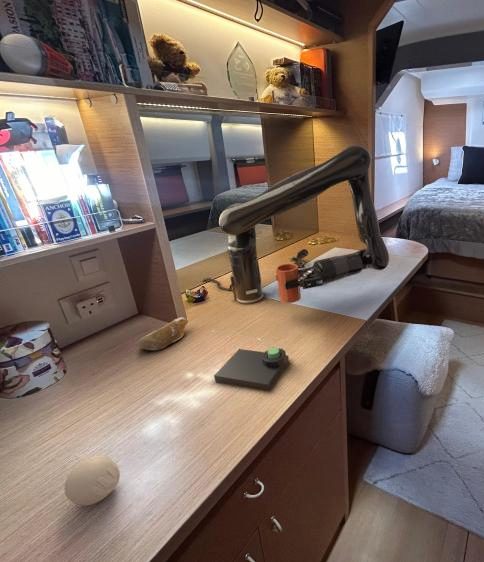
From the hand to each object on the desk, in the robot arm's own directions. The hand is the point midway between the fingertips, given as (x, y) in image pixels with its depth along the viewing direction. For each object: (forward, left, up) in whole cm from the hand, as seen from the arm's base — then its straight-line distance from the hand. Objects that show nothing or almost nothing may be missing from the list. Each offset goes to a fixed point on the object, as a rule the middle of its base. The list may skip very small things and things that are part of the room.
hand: (281, 281), depth 98 cm
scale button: (+6, -20, -11) cm, 24 cm away
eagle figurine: (-15, +49, -14) cm, 53 cm away
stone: (-30, -16, -14) cm, 37 cm away
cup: (+2, +2, -6) cm, 6 cm away
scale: (+2, -23, -14) cm, 27 cm away
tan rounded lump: (-7, -57, -14) cm, 59 cm away
